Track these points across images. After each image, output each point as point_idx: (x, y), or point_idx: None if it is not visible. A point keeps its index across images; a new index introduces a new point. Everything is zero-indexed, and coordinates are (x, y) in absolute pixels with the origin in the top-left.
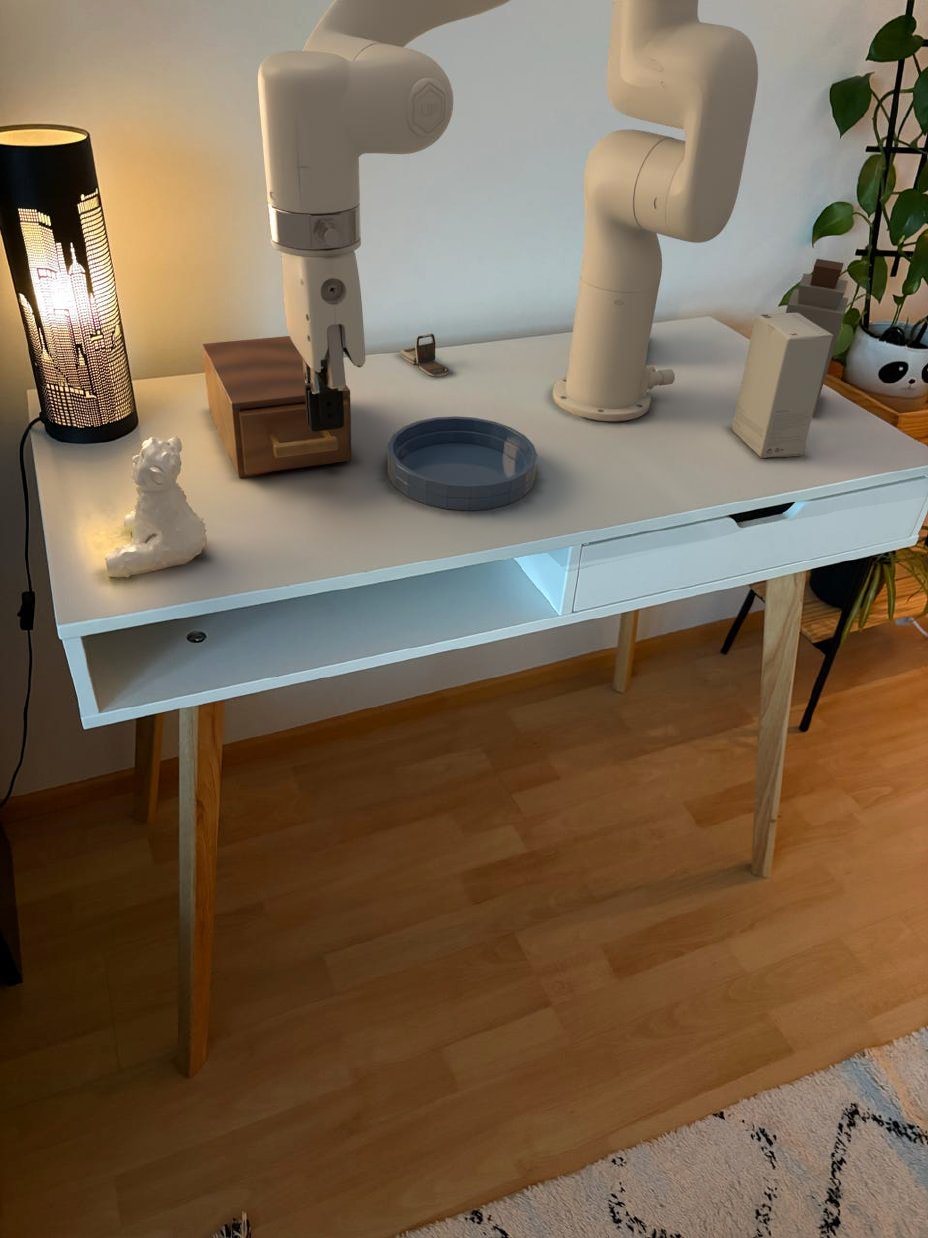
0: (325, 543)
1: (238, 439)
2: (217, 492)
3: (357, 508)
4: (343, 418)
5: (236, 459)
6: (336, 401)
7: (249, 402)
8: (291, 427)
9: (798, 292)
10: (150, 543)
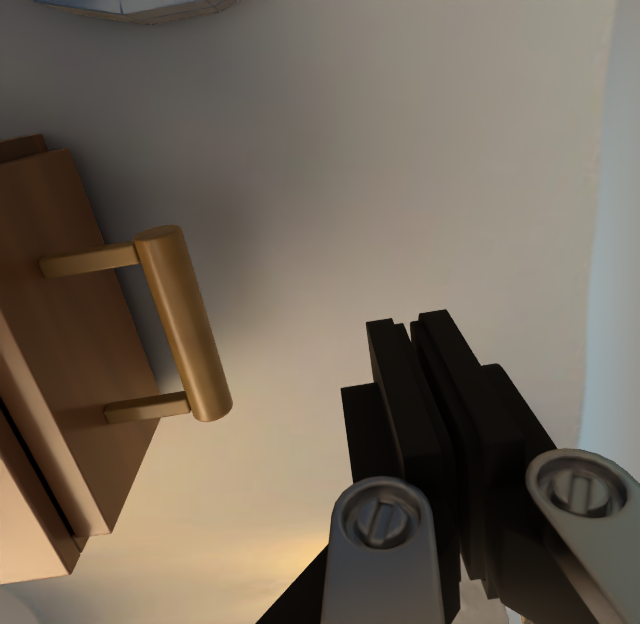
0: (463, 253)
1: None
2: (212, 446)
3: (314, 153)
4: (455, 327)
5: None
6: (545, 434)
7: (50, 533)
8: (79, 369)
9: None
10: None
